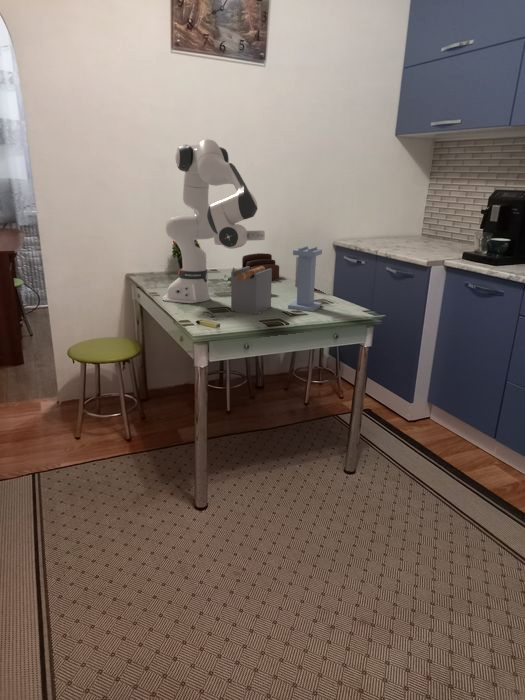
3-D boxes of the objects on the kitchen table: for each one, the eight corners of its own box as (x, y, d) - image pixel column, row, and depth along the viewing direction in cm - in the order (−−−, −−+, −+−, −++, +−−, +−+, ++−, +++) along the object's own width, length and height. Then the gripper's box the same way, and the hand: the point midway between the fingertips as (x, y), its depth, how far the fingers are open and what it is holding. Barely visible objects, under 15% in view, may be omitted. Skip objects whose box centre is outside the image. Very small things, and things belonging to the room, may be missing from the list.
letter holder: (241, 278, 295) (241, 254, 291) (270, 275, 305) (271, 252, 300) (250, 281, 287) (250, 256, 283) (279, 278, 297) (280, 254, 292)
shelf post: (313, 311, 224) (316, 250, 215) (287, 308, 229) (290, 248, 220) (321, 305, 234) (325, 247, 226) (297, 302, 239) (299, 245, 230)
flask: (304, 291, 265) (305, 256, 259) (293, 285, 277) (294, 252, 272) (310, 290, 266) (312, 256, 260) (299, 285, 279) (300, 252, 273)
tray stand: (255, 314, 217) (256, 274, 212) (231, 311, 222) (231, 271, 216) (270, 306, 231) (271, 268, 225) (247, 303, 236) (247, 266, 230)
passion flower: (243, 294, 278) (251, 279, 270) (225, 292, 273) (233, 277, 264) (238, 280, 284) (246, 264, 276) (220, 278, 279) (228, 262, 271)
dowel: (237, 281, 208) (243, 280, 206) (235, 274, 207) (241, 273, 206) (260, 273, 227) (265, 272, 225) (258, 266, 226) (264, 265, 225)
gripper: (262, 227, 192) (267, 226, 206) (210, 227, 195) (217, 227, 208) (263, 244, 194) (267, 242, 207) (210, 244, 196) (218, 243, 210)
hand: (242, 235), depth 208 cm, fingers open, 8 cm apart
